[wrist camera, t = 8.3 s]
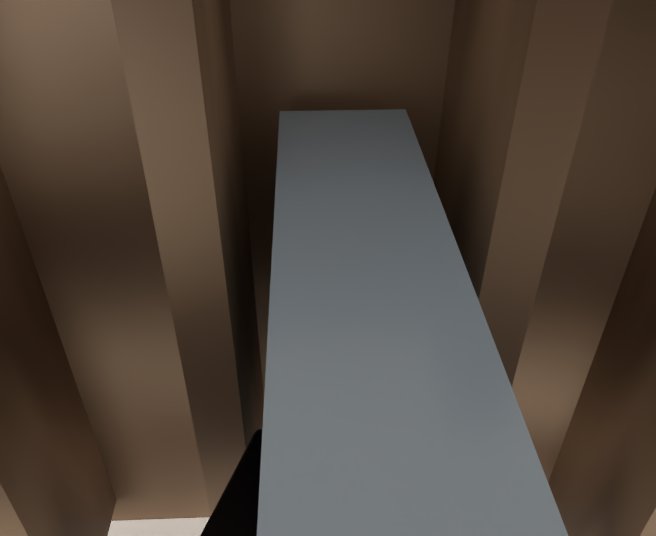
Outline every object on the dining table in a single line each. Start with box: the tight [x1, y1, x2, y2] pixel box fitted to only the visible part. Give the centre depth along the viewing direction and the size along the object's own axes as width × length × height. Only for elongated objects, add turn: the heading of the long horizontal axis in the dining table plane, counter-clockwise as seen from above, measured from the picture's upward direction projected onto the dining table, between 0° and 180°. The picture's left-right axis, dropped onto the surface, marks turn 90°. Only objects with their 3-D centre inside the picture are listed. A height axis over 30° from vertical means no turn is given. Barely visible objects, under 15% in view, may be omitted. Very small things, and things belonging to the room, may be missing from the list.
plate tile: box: [257, 109, 568, 536], centre depth 9 cm, size 7×2×8 cm, turn 0°
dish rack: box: [0, 0, 656, 536], centre depth 11 cm, size 18×15×4 cm
